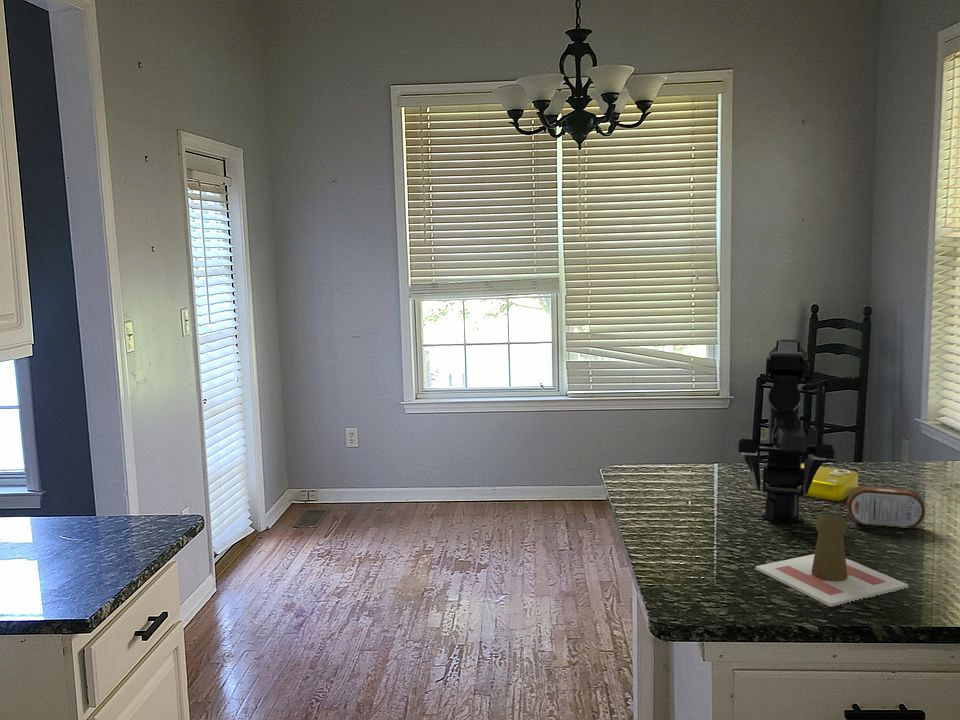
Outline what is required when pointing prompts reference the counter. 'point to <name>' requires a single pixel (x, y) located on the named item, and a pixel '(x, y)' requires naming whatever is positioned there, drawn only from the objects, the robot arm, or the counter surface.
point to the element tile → (832, 483)
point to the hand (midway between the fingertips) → (781, 492)
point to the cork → (830, 548)
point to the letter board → (831, 593)
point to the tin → (885, 506)
